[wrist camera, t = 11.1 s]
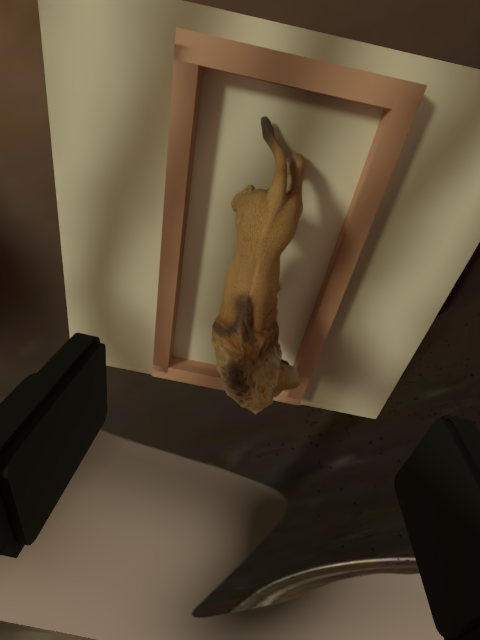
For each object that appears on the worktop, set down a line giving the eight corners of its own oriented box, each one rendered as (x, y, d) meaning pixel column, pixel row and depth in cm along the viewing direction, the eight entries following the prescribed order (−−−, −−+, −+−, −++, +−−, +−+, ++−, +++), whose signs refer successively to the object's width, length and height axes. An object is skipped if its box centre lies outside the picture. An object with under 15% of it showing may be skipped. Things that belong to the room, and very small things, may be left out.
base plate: (544, 91, 15) (591, 88, 13) (370, 403, 26) (380, 432, 24) (55, -22, 15) (15, -46, 12) (81, 345, 25) (62, 369, 23)
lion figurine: (293, 336, 22) (302, 428, 15) (225, 334, 22) (206, 423, 16) (310, 115, 15) (335, 120, 9) (214, 117, 16) (175, 122, 9)
